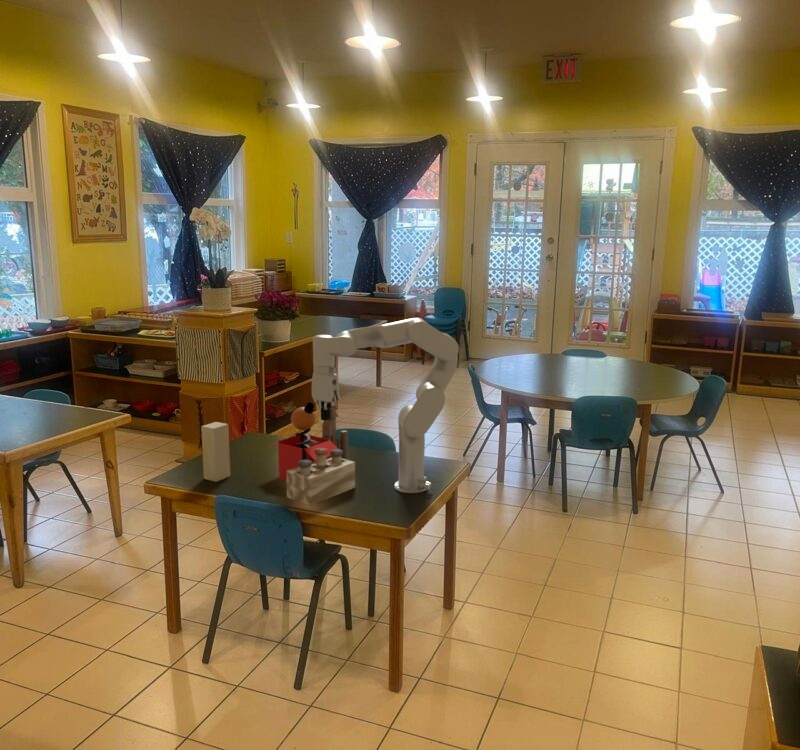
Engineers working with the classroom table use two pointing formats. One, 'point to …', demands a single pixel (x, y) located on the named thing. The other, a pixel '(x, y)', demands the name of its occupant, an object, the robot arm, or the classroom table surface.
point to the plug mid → (321, 458)
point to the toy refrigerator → (216, 451)
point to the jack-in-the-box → (300, 442)
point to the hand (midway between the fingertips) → (325, 419)
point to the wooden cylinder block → (320, 481)
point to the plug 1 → (305, 467)
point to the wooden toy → (330, 433)
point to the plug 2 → (336, 456)
